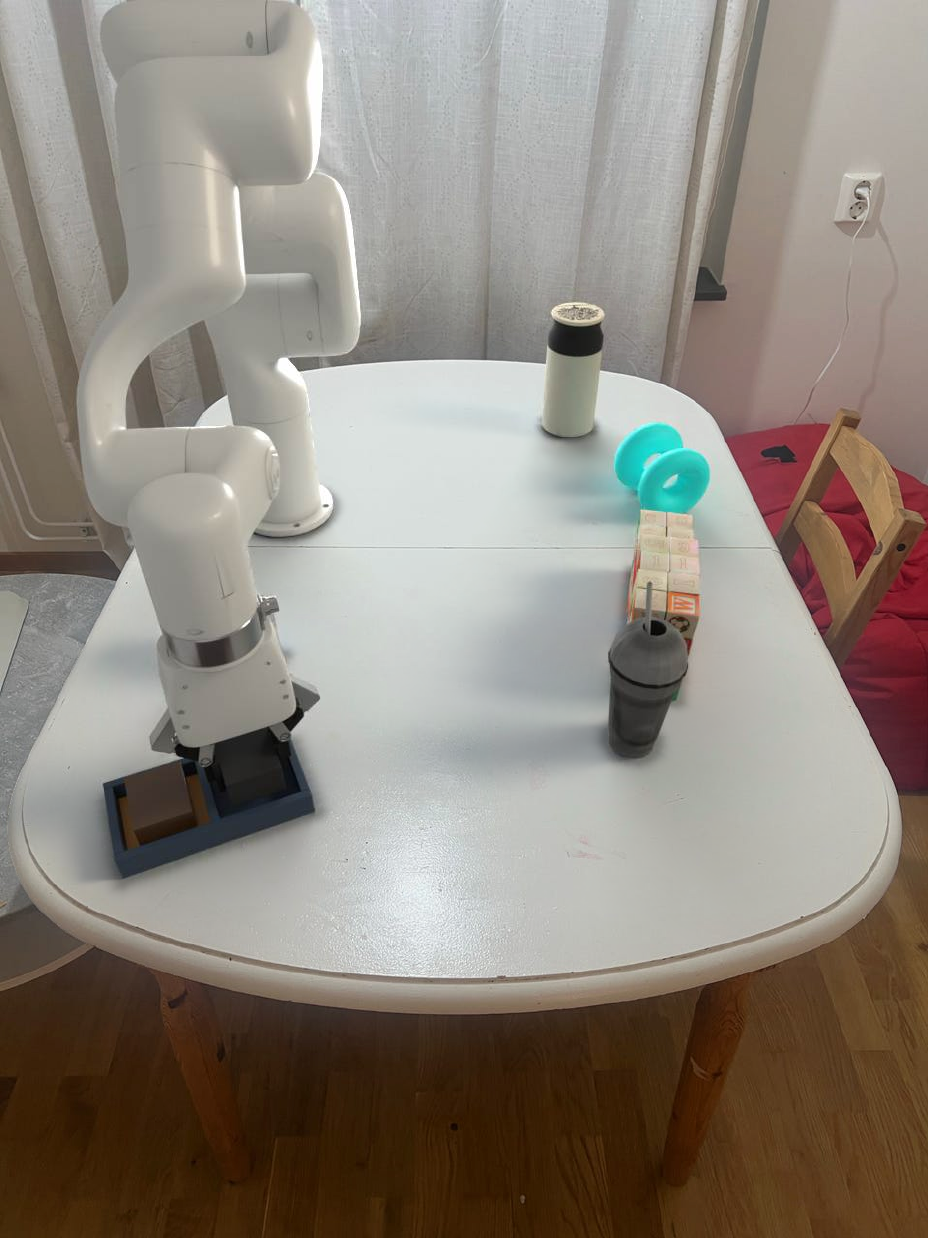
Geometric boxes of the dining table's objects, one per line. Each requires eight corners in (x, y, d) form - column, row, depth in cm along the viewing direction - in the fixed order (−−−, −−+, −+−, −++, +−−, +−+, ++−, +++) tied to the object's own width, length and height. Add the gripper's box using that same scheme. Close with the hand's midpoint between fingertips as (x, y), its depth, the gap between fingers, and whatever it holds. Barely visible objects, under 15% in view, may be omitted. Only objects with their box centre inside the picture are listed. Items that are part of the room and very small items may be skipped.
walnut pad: (132, 799, 79) (123, 778, 77) (187, 782, 80) (180, 760, 78) (142, 851, 75) (133, 830, 73) (199, 832, 76) (192, 810, 74)
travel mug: (595, 439, 129) (609, 323, 117) (543, 438, 129) (551, 323, 117) (590, 413, 135) (603, 301, 123) (540, 413, 135) (548, 300, 123)
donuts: (669, 476, 122) (682, 413, 115) (705, 515, 115) (721, 450, 108) (606, 488, 119) (615, 424, 113) (639, 528, 112) (650, 462, 106)
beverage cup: (650, 781, 82) (688, 628, 68) (581, 749, 85) (605, 596, 71) (678, 732, 86) (719, 579, 73) (612, 703, 89) (640, 551, 76)
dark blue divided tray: (110, 800, 80) (102, 783, 78) (289, 742, 85) (285, 725, 83) (122, 878, 74) (114, 862, 72) (315, 812, 79) (312, 794, 77)
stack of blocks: (629, 569, 106) (644, 485, 98) (680, 576, 105) (700, 492, 97) (617, 693, 90) (634, 606, 82) (677, 702, 89) (700, 615, 81)
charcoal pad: (217, 759, 80) (211, 737, 78) (270, 742, 82) (265, 720, 80) (231, 807, 76) (225, 786, 74) (286, 789, 78) (281, 767, 75)
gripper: (305, 570, 72) (327, 714, 84) (93, 625, 66) (149, 770, 79) (332, 625, 66) (351, 771, 79) (104, 689, 61) (163, 834, 74)
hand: (250, 769), depth 78 cm, fingers closed on charcoal pad, 4 cm apart
